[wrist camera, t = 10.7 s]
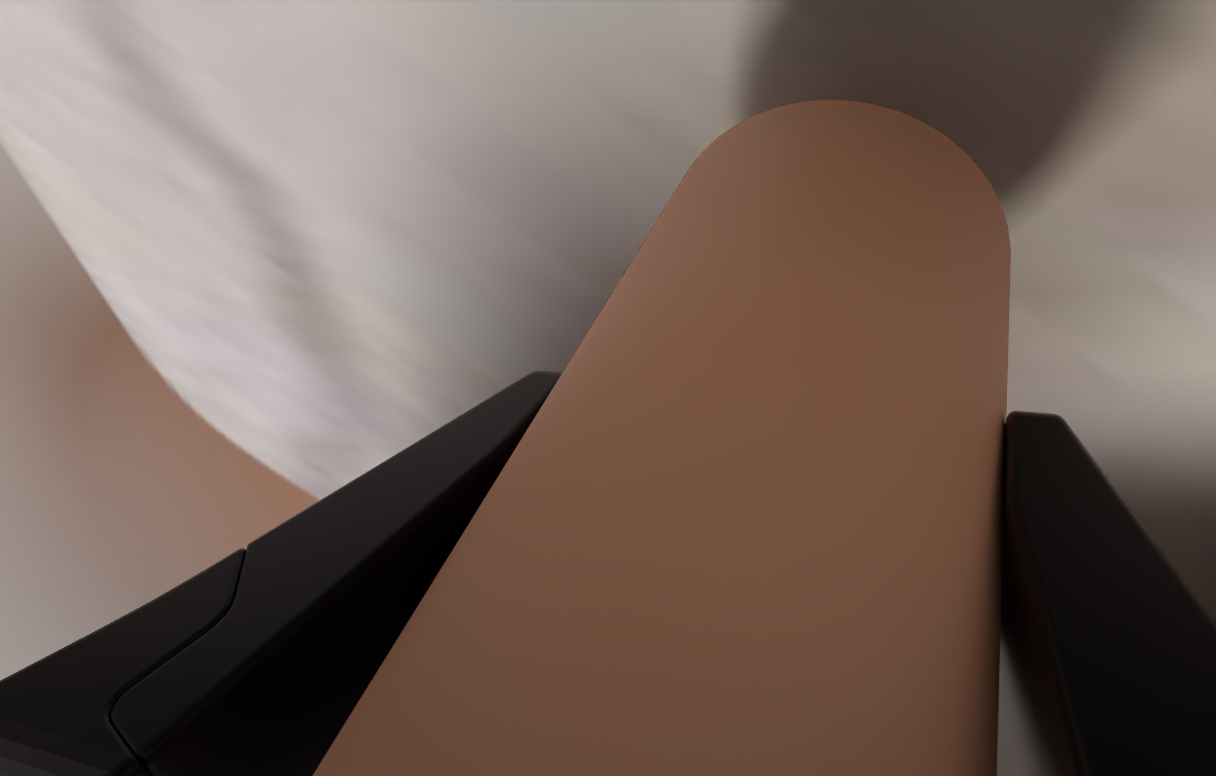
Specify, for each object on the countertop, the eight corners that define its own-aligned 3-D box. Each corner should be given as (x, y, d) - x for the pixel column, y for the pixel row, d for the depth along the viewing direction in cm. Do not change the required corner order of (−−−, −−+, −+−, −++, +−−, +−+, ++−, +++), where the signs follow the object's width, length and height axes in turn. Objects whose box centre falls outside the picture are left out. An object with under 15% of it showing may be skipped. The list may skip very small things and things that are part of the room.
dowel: (1032, 93, 9) (1039, 948, 3) (993, 408, 11) (956, 1225, 6) (648, 104, 10) (173, 706, 5) (684, 382, 13) (401, 1008, 7)
